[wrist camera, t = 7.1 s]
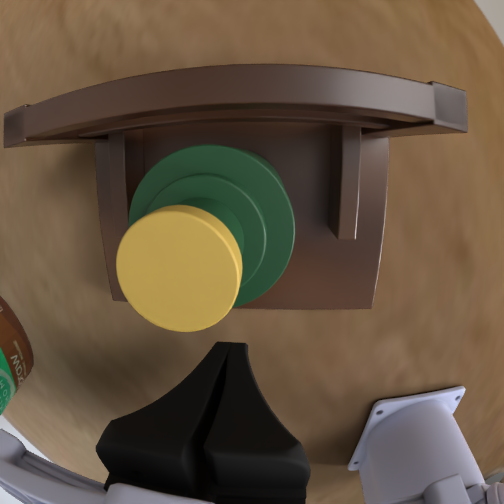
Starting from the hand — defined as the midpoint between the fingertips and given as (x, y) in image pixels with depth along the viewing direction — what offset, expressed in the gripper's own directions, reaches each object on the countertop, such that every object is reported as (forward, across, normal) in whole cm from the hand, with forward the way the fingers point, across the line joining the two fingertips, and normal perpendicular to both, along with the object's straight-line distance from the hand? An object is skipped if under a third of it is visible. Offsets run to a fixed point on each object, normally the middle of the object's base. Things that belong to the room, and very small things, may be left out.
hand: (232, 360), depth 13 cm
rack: (+3, 0, -7) cm, 7 cm away
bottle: (+3, 0, -7) cm, 7 cm away
